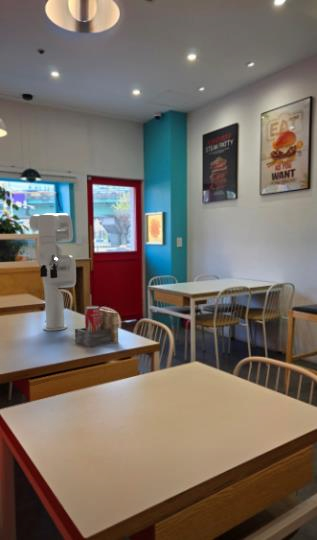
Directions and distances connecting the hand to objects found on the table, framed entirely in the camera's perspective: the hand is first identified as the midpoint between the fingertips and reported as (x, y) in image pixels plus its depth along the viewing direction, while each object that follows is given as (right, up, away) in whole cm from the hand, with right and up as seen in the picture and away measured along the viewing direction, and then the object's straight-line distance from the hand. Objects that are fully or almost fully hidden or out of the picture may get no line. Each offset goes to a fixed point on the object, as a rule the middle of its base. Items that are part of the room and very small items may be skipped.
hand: (48, 277), depth 178 cm
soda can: (+21, -27, -2) cm, 34 cm away
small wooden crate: (+22, -30, -1) cm, 37 cm away
